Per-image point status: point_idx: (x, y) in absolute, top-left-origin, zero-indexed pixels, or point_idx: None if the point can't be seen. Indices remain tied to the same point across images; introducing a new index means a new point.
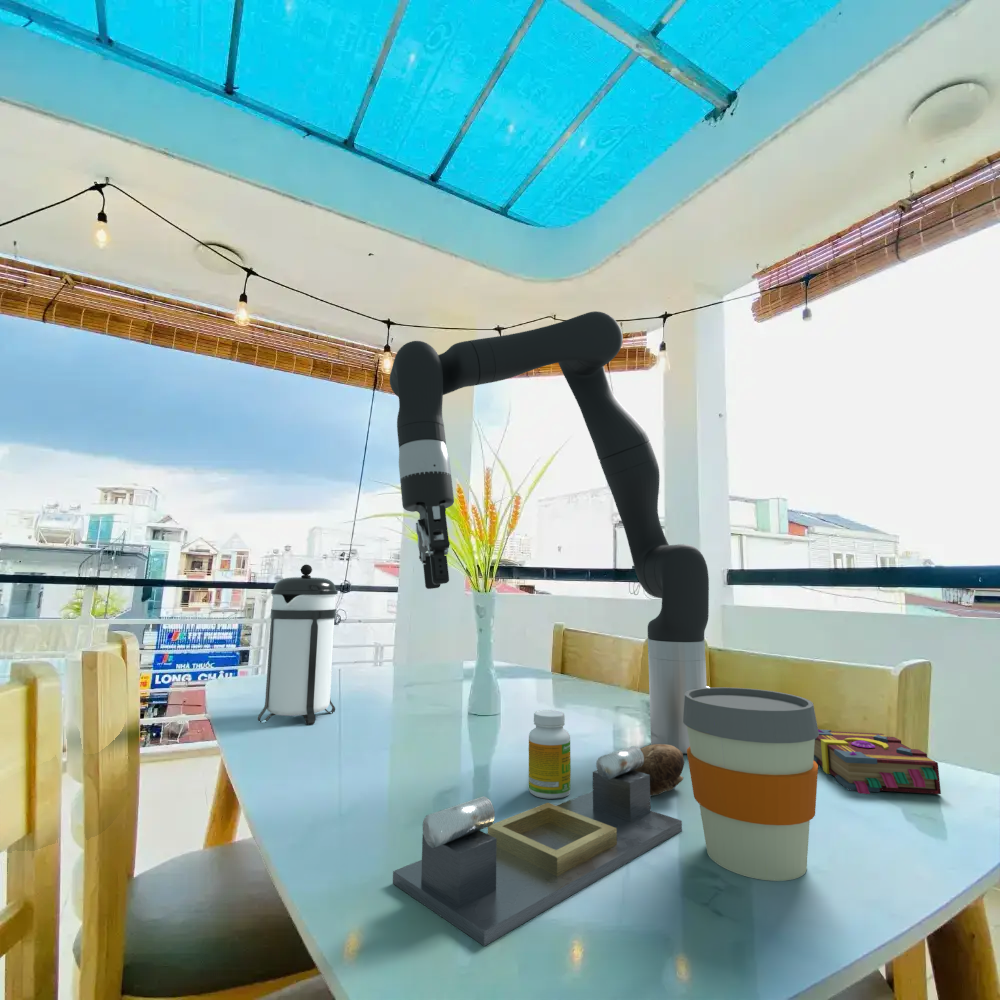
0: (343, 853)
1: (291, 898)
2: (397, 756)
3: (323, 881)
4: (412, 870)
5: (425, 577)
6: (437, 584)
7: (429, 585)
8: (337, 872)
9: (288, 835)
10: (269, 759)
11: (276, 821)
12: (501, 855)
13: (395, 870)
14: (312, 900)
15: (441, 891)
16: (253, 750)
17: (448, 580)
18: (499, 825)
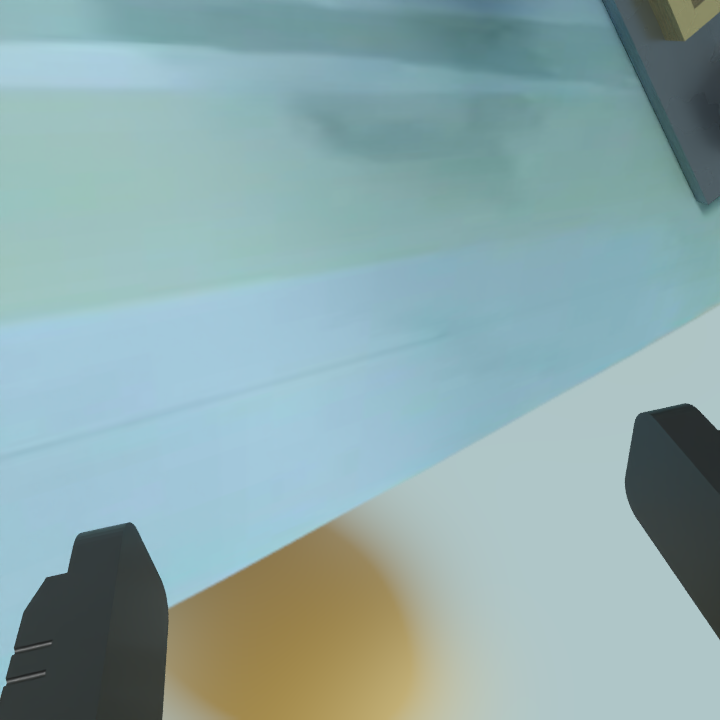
0: (590, 291)
1: (688, 322)
2: (34, 296)
3: (661, 296)
4: (716, 175)
5: (162, 696)
6: (133, 554)
7: (157, 602)
8: (643, 285)
9: (512, 389)
10: None
11: (456, 426)
12: (717, 16)
13: (707, 201)
14: (701, 296)
15: None
16: None
17: (689, 407)
18: (690, 14)
